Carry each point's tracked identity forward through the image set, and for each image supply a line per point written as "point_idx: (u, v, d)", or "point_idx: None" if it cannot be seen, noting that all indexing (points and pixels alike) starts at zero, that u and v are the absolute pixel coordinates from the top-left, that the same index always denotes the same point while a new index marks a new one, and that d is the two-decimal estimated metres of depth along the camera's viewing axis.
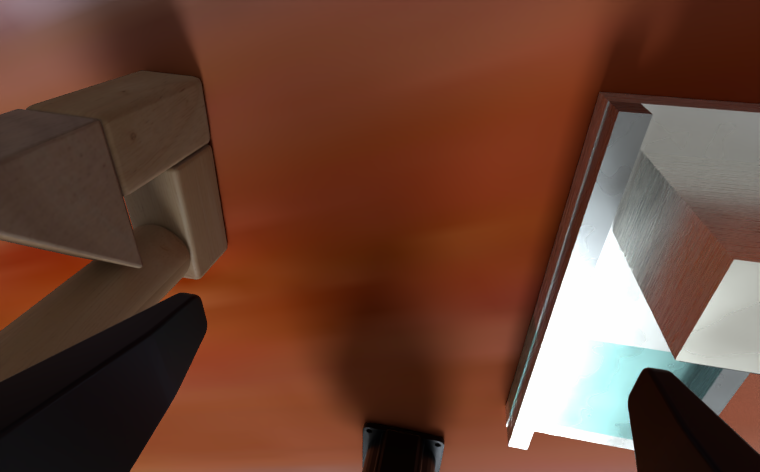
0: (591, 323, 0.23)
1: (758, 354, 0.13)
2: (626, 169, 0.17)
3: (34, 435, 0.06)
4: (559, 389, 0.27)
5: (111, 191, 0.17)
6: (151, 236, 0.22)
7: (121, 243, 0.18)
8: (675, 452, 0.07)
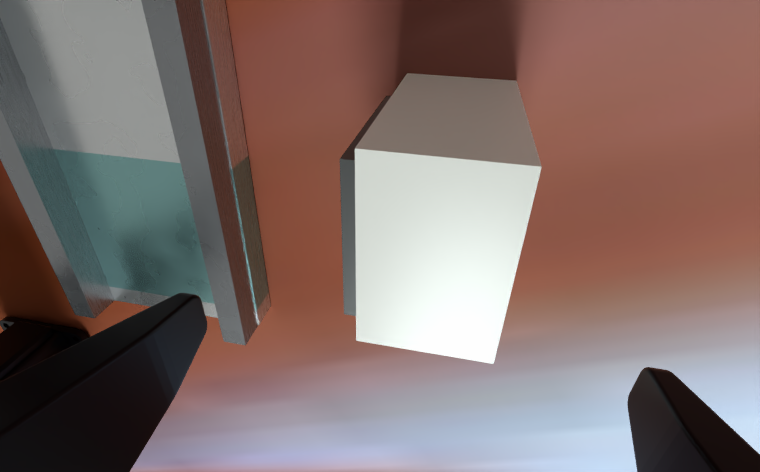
0: (71, 126, 0.19)
1: None
2: None
3: (34, 435, 0.06)
4: (107, 235, 0.22)
5: None
6: None
7: None
8: (675, 452, 0.07)
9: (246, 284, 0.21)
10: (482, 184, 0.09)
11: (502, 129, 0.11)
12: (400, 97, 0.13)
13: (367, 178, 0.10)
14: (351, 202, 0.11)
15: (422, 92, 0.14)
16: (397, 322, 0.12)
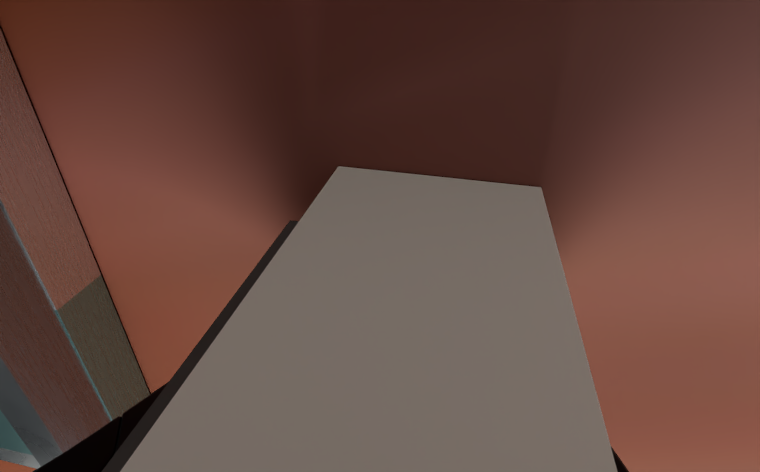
0: None
1: None
2: None
3: None
4: None
5: None
6: None
7: None
8: None
9: None
10: None
11: None
12: (288, 268, 0.06)
13: None
14: None
15: (346, 241, 0.06)
16: None
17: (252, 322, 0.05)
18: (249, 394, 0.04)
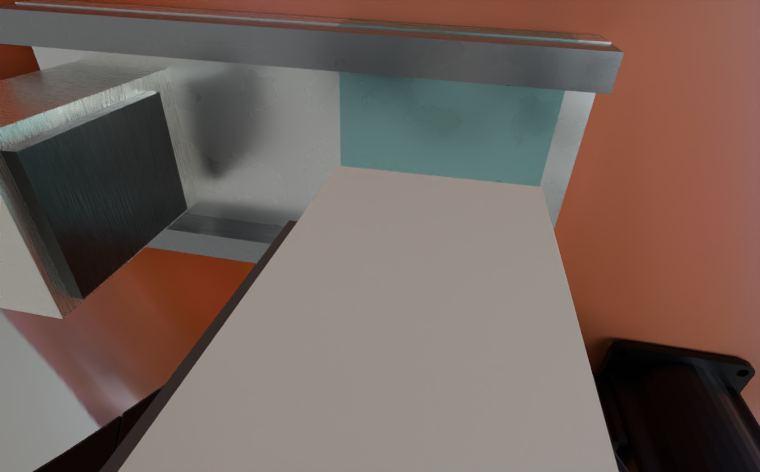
0: None
1: (13, 264, 0.13)
2: None
3: None
4: None
5: None
6: None
7: None
8: None
9: (512, 38, 0.14)
10: None
11: None
12: (287, 268, 0.06)
13: None
14: None
15: (345, 241, 0.06)
16: None
17: (250, 323, 0.05)
18: (247, 395, 0.04)
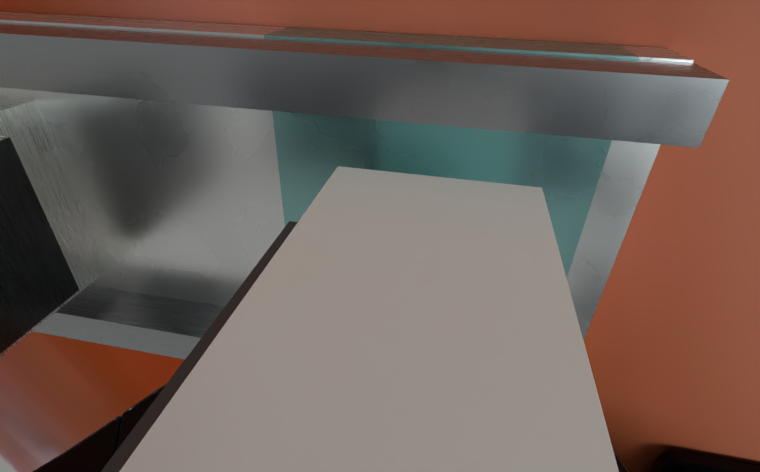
0: None
1: None
2: None
3: None
4: None
5: None
6: None
7: None
8: None
9: (532, 56, 0.09)
10: None
11: None
12: (287, 269, 0.06)
13: None
14: None
15: (345, 242, 0.06)
16: None
17: (250, 324, 0.05)
18: (247, 397, 0.04)
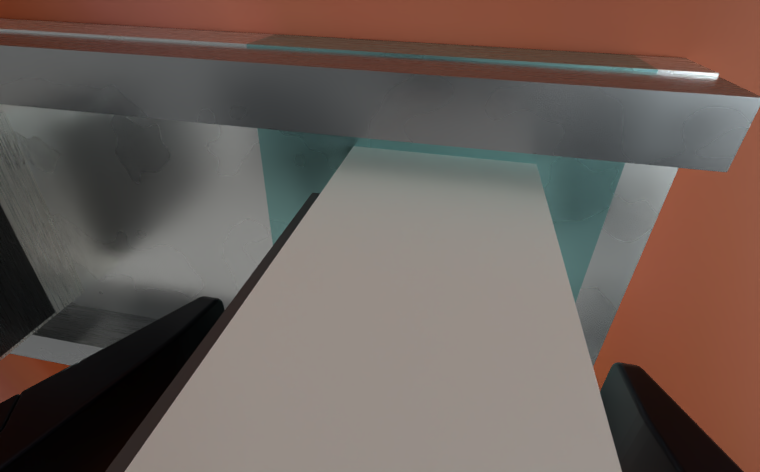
0: None
1: None
2: None
3: (66, 442, 0.06)
4: None
5: None
6: None
7: None
8: (639, 445, 0.07)
9: (540, 69, 0.08)
10: None
11: (523, 371, 0.04)
12: (317, 225, 0.07)
13: None
14: None
15: (365, 205, 0.07)
16: None
17: (291, 264, 0.06)
18: (295, 314, 0.05)
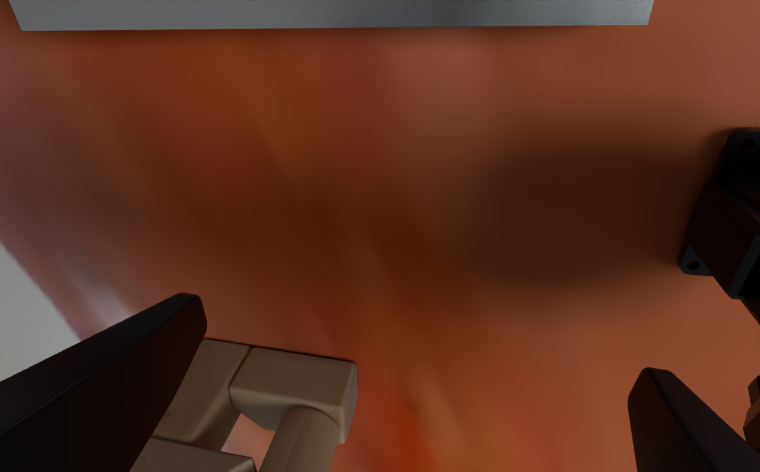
0: None
1: None
2: (60, 0, 0.16)
3: (34, 435, 0.06)
4: None
5: (172, 451, 0.22)
6: (276, 431, 0.25)
7: (210, 466, 0.21)
8: (675, 452, 0.07)
9: None
10: None
11: None
12: None
13: None
14: None
15: None
16: None
17: None
18: None
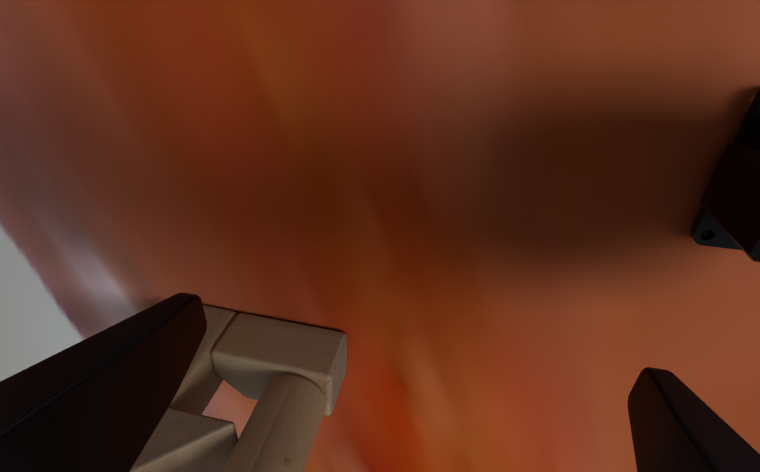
0: None
1: None
2: None
3: (34, 435, 0.06)
4: None
5: None
6: (259, 398, 0.23)
7: (188, 428, 0.20)
8: (675, 452, 0.07)
9: None
10: None
11: None
12: None
13: None
14: None
15: None
16: None
17: None
18: None
